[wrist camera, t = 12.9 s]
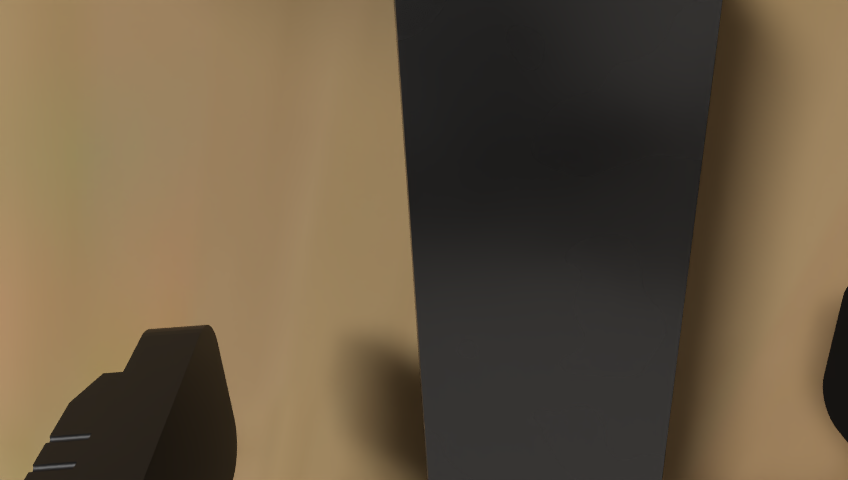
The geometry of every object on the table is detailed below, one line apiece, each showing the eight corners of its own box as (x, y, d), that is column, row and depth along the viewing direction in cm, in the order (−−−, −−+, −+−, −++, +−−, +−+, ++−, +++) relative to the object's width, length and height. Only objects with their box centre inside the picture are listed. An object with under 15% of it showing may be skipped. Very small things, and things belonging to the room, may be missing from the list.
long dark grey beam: (746, -207, 9) (966, -254, 6) (656, 507, 15) (741, 702, 12) (244, -177, 9) (157, -208, 6) (346, 532, 15) (334, 736, 12)
